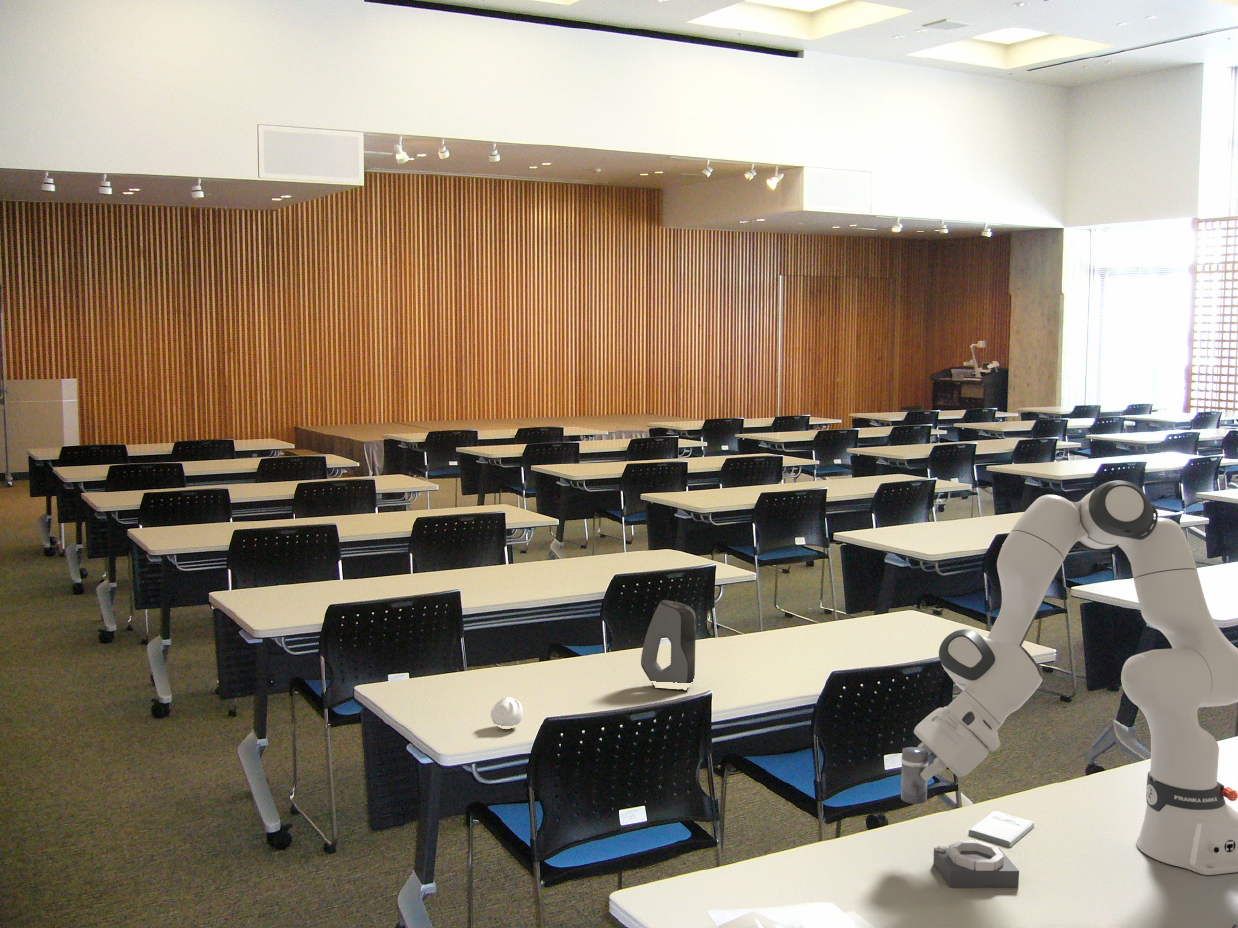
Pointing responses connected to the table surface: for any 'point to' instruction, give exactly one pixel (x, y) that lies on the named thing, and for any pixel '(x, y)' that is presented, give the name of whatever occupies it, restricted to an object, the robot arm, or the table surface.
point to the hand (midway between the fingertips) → (916, 771)
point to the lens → (913, 775)
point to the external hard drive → (1001, 828)
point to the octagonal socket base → (975, 865)
